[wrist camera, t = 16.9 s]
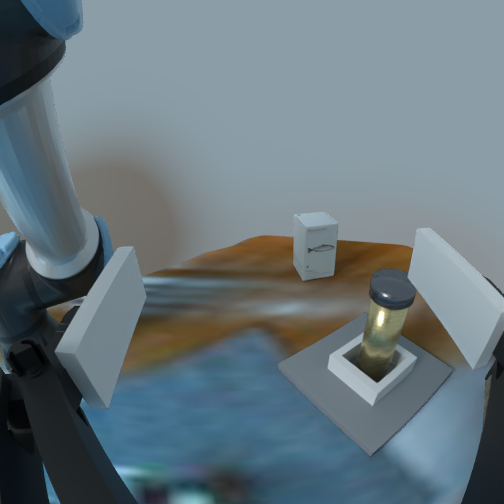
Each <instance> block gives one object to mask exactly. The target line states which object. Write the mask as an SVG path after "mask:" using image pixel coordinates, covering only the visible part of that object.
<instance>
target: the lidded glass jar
mask: <svg viewBox="0 0 504 504" xmlns="http://www.w3.org/2000/svg"><path fill="white" fill-rule="evenodd" d="M416 291H417V289H416V288H415V286H414V285H413V284H412V283H411V281H410V280H409V279H408V273H406V272H404V271H401V270H397V269H382V270H378V271H376V272H375V273H374V274H373V275H372V279H371V285H370V290H369V295H370V298H371V302H370V307H369V311H368V316H367V321H366V325H365V330H364V334H363V338H362V343H361V347H360V351H359V355H358V359H357V363H356V366H355V367H357V368H358V369H359V370H360V371H362V372H363V373H364V374H366V375H367V376H368V377H369V378H371V379H372V380H373V381H375V382H376V383H378V382H380V381H381V380H382V379H383V378H384V377H385V376H386V375H387V372H388V369H389V367H390V364H391V361H392V358H393V355H394V352H395V350H396V347H397V344H398V341H399V338H400V334H401V331H402V328H403V325H404V322H405V318H406V315H407V311H408V308H409V307H410V306H411V305H412V304H413V302H414V298H415V294H416Z"/></svg>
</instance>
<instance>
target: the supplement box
mask: <svg viewBox="0 0 504 504" xmlns="http://www.w3.org/2000/svg"><path fill="white" fill-rule="evenodd" d="M337 234H338V223H337V222H336V221H335V220H334V219H333V218H332V217H331V216H329V215H328V214H327V213H326V212H316V213H307V214H296V215H294V259H293V265H294V267H295V268H296V270H297V272H298V273H299V275H300V277H301V278H302V280H303V281H306V280H311V279H316V278H322V277H329V276H334V269H335V258H336V246H337Z"/></svg>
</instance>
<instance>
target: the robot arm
mask: <svg viewBox="0 0 504 504" xmlns="http://www.w3.org/2000/svg"><path fill="white" fill-rule="evenodd" d="M82 27H83V13H82V2H81V0H0V201H1V203H2V204H3V206H4V208H5V209H6V211H7V213H8V214H9V216H10V217H11V219H12V220H13V222H14V224H15V225H16V227H17V228H18V230H19V231H20V233H21V234H22V236H23V237H24V240H21V241H20V238H19V236H18V235H17V233H15V232H11V233H6V234H3V235H1V236H0V348H1V352H2V356H3V359H4V363H5V366H6V368H7V370H8V372H9V373H10V374H5V373H4V372H3V370H2V369H1V367H0V504H49V499H48V494H47V489H46V483H45V477H44V470H43V463H44V466H45V469H46V471H47V474H48V476H49V478H50V481H51V483H52V485H53V488H54V490H55V492H56V494H57V497H58V499H59V501H60V503H61V504H138V503H137V501H136V500H135V498H134V497H133V495H132V494H131V493H130V491H129V490H128V488H127V487H126V485H125V484H124V482H123V481H122V479H121V478H120V476H119V474H118V473H117V471H116V470H115V468H114V466H113V465H112V463H111V461H110V460H109V458H108V456H107V455H106V453H105V451H104V450H103V448H102V446H101V444H100V442H99V441H98V439H97V437H96V435H95V433H94V431H93V429H92V427H91V426H90V424H89V422H88V420H87V418H86V416H85V414H84V412H83V410H82V408H81V407H80V406H79V405H80V403H81V400H82V397H83V398H84V400H85V401H86V403H87V404H88V406H89V407H94V408H102V409H108V408H109V405H110V401H111V398H112V395H113V392H114V388H115V385H116V382H117V379H118V376H119V373H120V370H121V367H122V364H123V361H124V358H125V355H126V352H127V349H128V346H129V343H130V341H131V338H132V335H133V332H134V329H135V327H136V324H137V321H138V319H139V316H140V313H141V310H142V308H143V305H144V303H145V300H146V297H147V296H146V292H145V288H144V285H143V281H142V277H141V273H140V270H139V266H138V262H137V258H136V254H135V249H134V246H127V247H118V249H117V250H116V252H115V253H114V255H113V249H112V244H111V239H110V235H109V231H108V228H107V225H106V222H105V220H104V219H103V218H102V217H100V216H98V217H95V216H92V215H91V214H90V213H89V212H87V211H86V210H85V209H83V208H81V207H80V205H79V202H78V198H77V195H76V192H75V188H74V185H73V181H72V178H71V174H70V170H69V167H68V163H67V159H66V155H65V151H64V147H63V143H62V139H61V134H60V130H59V125H58V120H57V115H56V110H55V104H54V98H53V93H52V86H51V80H50V76H51V75H52V74H53V73H54V72H55V70H56V69H57V68H58V67H59V65H60V64H61V63H62V61H63V59H64V57H65V53H66V46H65V40H68V39H70V38H71V37H72V36H74V35H76V34H77V33H79V32H80V31H81V30H82ZM408 279H409V280H410V281H411V283H412V284H413V285H414V286H415V288H416V289H417V290H418V292H419V293H420V294H421V296H422V297H423V298H424V300H425V301H426V302H427V304H428V305H429V306H430V308H431V309H432V310H433V312H434V313H435V315H436V316H437V317H438V319H439V320H440V322H441V323H442V324H443V326H444V327H445V329H446V330H447V332H448V333H449V334H450V336H451V337H452V339H453V340H454V342H455V343H456V345H457V346H458V348H459V349H460V351H461V352H462V354H463V355H464V357H465V358H466V360H467V362H468V363H469V365H470V366H471V368H472V369H473V370H474V369H477V368H479V367H482V366H485V365H486V364H487V362H488V361H489V359H490V357H491V355H492V354H493V355H494V356H495V358H496V360H495V362H494V364H493V365H492V367H491V369H490V370H489V372H488V374H487V375H486V378H485V380H487V379H488V378H489V376H490V375H492V377H491V380H490V381H491V385H490V393H489V399H488V405H487V411H486V417H485V422H484V427H483V431H482V436H481V440H480V444H479V448H478V452H477V456H476V460H475V463H474V467H473V470H472V473H471V477H470V480H469V483H468V486H467V489H466V492H465V494H464V497H463V500H462V503H461V504H504V294H502V292H501V291H500V290H499V289H498V288H497V287H496V286H495V285H494V284H493V283H492V282H491V281H490V280H489V279H488V278H486V277H484V276H483V275H481V274H480V273H479V272H478V271H477V270H476V269H475V268H474V267H473V266H472V265H471V264H470V263H469V262H467V261H466V260H465V259H464V258H463V257H462V256H461V255H460V254H459V253H458V252H457V251H455V250H454V249H453V248H452V247H451V246H450V245H449V244H448V243H447V242H446V241H444V240H443V239H442V238H441V237H440V236H439V235H437V234H436V233H435V232H434V231H433V230H432V229H430V228H417V232H416V238H415V243H414V249H413V254H412V259H411V263H410V268H409V273H408ZM83 296H86V298H85V299H84V301H83V303H82V304H81V306H74V307H73V308H72V309H71V310H69V311H68V312H67V313H66V314H65V316H64V317H63V319H62V321H61V322H60V324H59V323H58V322H57V321H56V320H55V319H54V318H53V317H52V316H51V315H50V314H49V313H48V311H47V309H46V308H48V307H51V306H55V305H57V304H61V303H64V302H67V301H71V300H74V299H77V298H80V297H83ZM42 461H43V462H42Z"/></svg>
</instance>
